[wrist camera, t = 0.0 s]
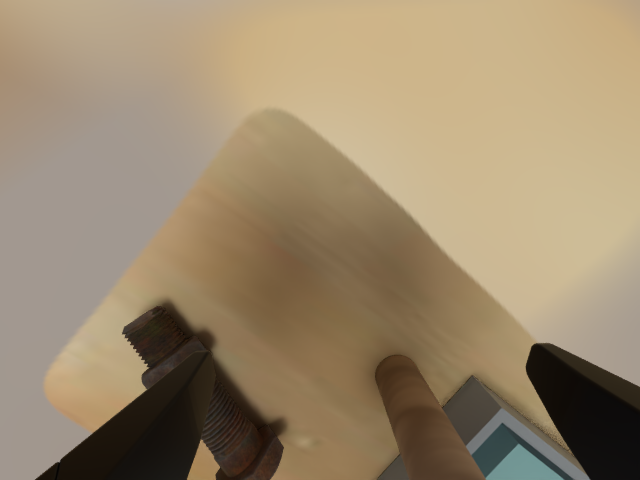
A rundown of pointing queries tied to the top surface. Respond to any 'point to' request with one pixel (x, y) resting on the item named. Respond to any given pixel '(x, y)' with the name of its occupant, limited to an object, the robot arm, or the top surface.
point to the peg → (422, 425)
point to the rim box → (501, 440)
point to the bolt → (223, 414)
